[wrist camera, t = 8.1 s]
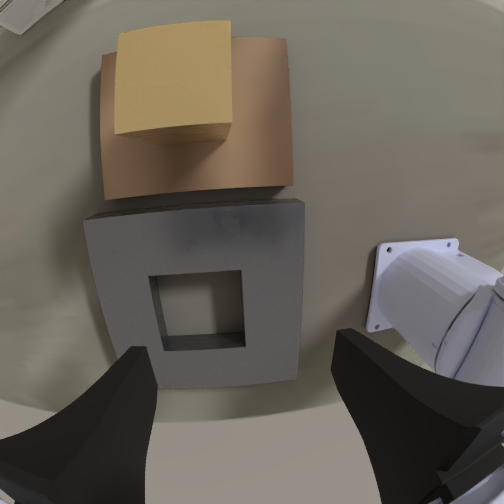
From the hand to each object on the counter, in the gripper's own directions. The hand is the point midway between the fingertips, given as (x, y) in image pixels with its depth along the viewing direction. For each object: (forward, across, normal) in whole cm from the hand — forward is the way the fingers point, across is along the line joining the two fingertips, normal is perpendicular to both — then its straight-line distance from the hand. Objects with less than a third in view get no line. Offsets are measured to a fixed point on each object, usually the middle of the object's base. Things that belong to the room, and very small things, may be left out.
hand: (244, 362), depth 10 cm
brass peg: (+9, +2, -10) cm, 14 cm away
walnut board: (+10, +2, -10) cm, 15 cm away
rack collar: (+10, +2, +3) cm, 11 cm away
